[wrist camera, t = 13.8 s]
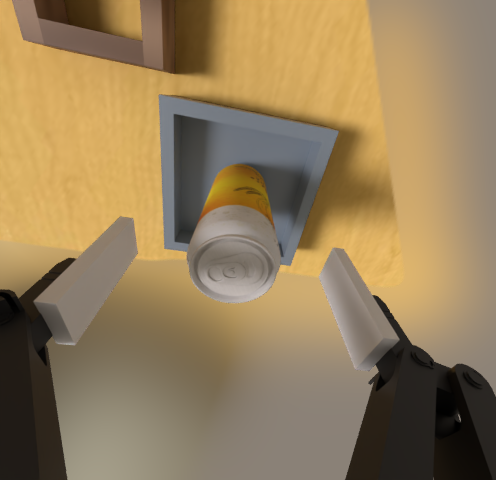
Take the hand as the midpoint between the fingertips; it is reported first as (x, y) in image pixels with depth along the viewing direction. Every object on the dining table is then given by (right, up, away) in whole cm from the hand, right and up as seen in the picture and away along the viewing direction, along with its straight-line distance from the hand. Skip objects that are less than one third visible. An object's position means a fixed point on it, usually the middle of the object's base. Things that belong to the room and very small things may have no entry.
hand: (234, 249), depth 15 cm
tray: (0, +7, +12) cm, 14 cm away
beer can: (0, +7, +11) cm, 13 cm away
